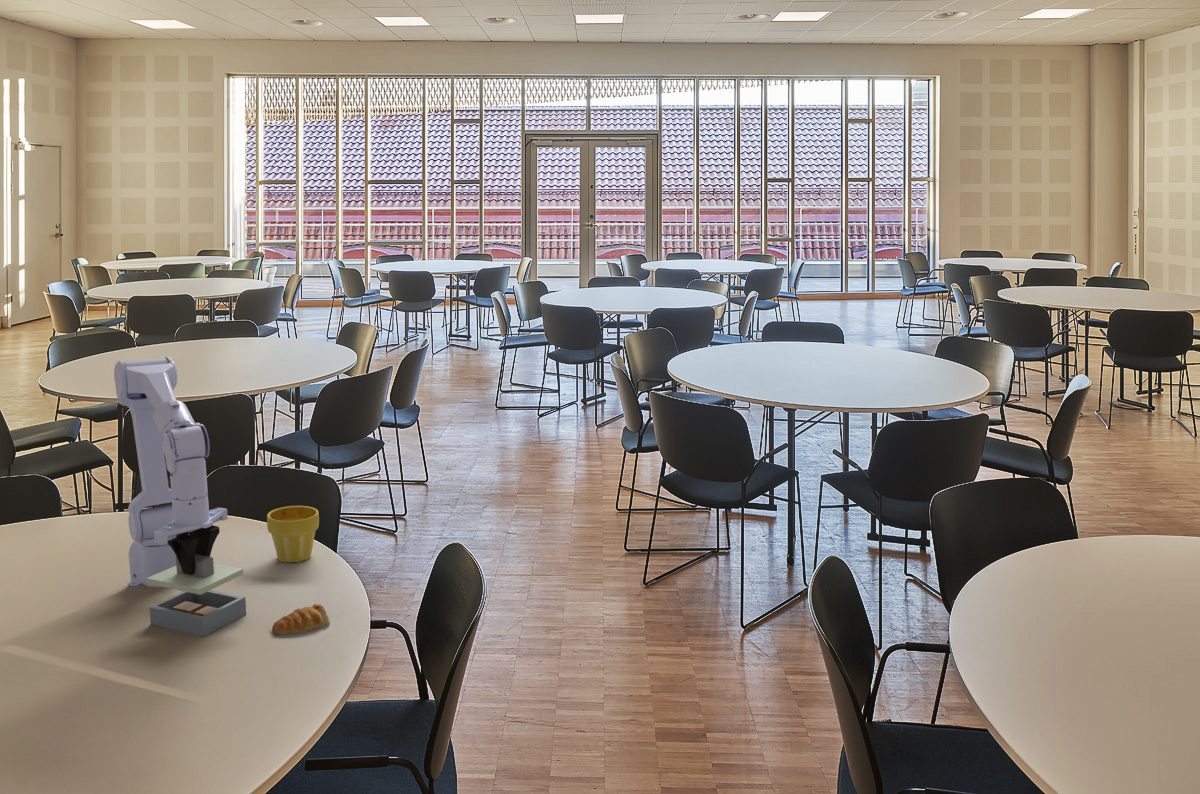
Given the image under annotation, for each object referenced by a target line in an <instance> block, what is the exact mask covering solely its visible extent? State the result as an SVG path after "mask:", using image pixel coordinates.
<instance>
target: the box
mask: <svg viewBox="0 0 1200 794" xmlns="http://www.w3.org/2000/svg"><path fill="white" fill-rule="evenodd" d="M184 601H188V602H192V603H197V604H201V605H202V606H203V608H204V607H206V606H211V607H215V608H218V609H216V610H214V611H212V612H210V613H208V614H206V615H204V616H199V615H194V614H190V613H185V612H181V611H177V610H172V607H174V606H176V605H178V604H180V603H182V602H184ZM246 604H247V602H246V597H245V596H241V595H236V594H232V593H227V592H222V591H218V590H213V589H212V590H210V591H207V592H205V593H203V594H201V595H199V594H194V593H189V592H185V591H181V592H179V593H176V594H175V595H173V596H170V597H168V598H166V599H164V600H161V601H159V602H157V603H155V604H153V605H151V606H149V607H148V608H149V618H150V625H152V626H156V627H161V628H164V629H169V630H173V631H176V632H177V631H178V632H180V633H181V632H182V633H185V634H191V635H194V636H199V637H203V638H204V637H206V636H208V635H210V634H211V633H213V632H217V631H218V630H219V629H221V628H223V627H226V626H227V625H229V624H231V623H234V622H235V621H237V620H239V619H240V618H242V617H244V616H246V615H247V605H246Z"/></svg>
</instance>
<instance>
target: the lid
mask: <svg viewBox="0 0 1200 794" xmlns="http://www.w3.org/2000/svg"><path fill="white" fill-rule="evenodd" d="M241 576H244V568H241V567H236V566H230V565H224V564H219V563H214V557H213V556H210V557H208V556H203V555H198V554H195V573H194V574H192V575H189V574H184V573H183V571H182V569H181V566H180V563H179V561H178V559H177V557H176V566H174V567H172V568H169V569H167V570H165V571H162V572H160V573H158V574H155V575H153V576H151V577H148V578H147V584H151V585H156V586H161V588H167V589H169V590H170V589H171V590H174V591H175V590H176V591H181V592H183V591H185V592H189V593H194V594H199V595H201V594H203V593H205V592H207V591H210V590H213V589H215V588H217V587H220V586H221V585H223V584H226V583H228V582H231V581H232V580H235V579H236V578H239V577H241Z"/></svg>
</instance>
